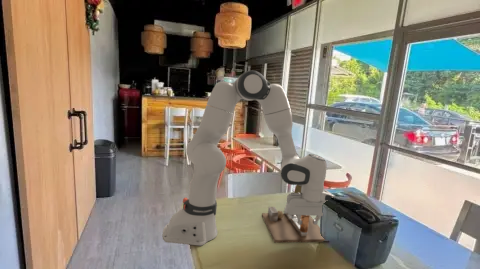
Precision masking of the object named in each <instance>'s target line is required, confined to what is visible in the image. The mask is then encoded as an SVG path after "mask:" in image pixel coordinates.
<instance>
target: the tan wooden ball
mask: <svg viewBox="0 0 480 269" xmlns="http://www.w3.org/2000/svg"><path fill="white" fill-rule="evenodd" d="M277 212H278V219H281V218H282V217H283V213H284V212H283V211H281V210H277Z"/></svg>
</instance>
